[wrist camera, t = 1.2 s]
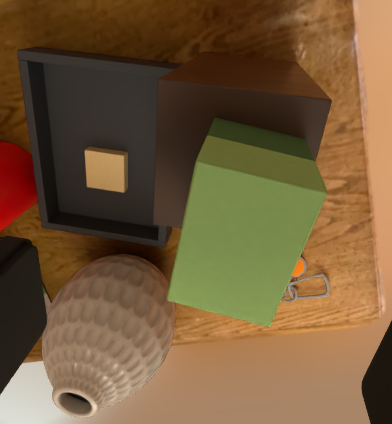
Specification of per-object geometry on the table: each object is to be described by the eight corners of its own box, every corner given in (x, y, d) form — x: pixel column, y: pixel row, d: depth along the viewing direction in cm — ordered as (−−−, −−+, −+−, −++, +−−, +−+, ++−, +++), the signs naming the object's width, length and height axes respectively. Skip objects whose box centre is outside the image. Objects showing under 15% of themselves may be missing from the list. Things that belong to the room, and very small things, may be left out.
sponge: (214, 116, 17) (196, 159, 12) (306, 138, 17) (328, 192, 12) (189, 228, 20) (165, 301, 15) (266, 248, 20) (269, 328, 15)
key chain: (321, 247, 38) (322, 251, 37) (332, 299, 41) (334, 304, 40) (207, 268, 41) (206, 273, 40) (225, 315, 44) (225, 320, 43)
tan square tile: (89, 146, 36) (84, 149, 35) (128, 151, 35) (124, 155, 34) (91, 182, 38) (86, 187, 37) (128, 188, 37) (124, 192, 36)
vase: (202, 305, 44) (175, 444, 30) (115, 323, 48) (54, 454, 34) (159, 219, 39) (101, 336, 25) (66, 247, 43) (-32, 363, 29)
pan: (36, 47, 32) (16, 49, 30) (182, 64, 31) (175, 68, 29) (55, 214, 41) (41, 227, 38) (171, 232, 40) (165, 248, 37)
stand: (203, 51, 31) (158, 78, 17) (297, 62, 30) (332, 100, 16) (194, 141, 34) (152, 224, 20) (278, 153, 34) (292, 246, 20)
